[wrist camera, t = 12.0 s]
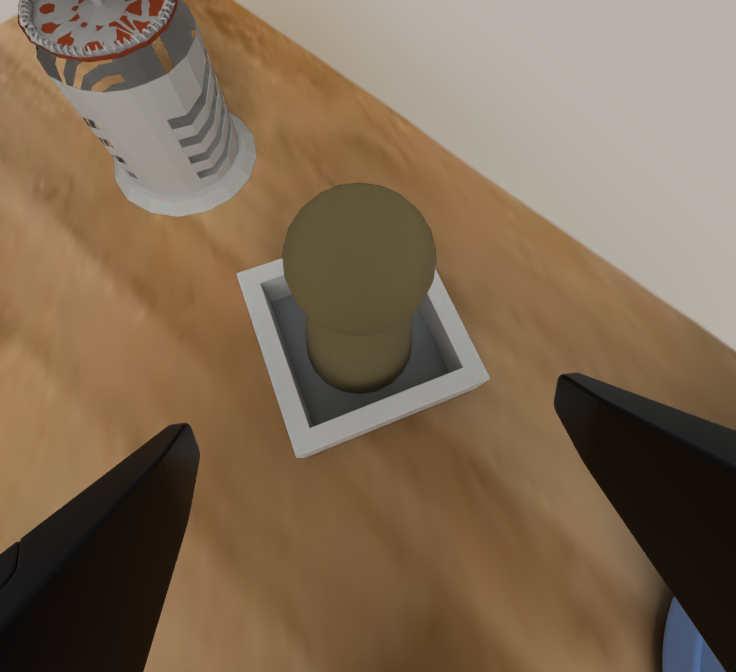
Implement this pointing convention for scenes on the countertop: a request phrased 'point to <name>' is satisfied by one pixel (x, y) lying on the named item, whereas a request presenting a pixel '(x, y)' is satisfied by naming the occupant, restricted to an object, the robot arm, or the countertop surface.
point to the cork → (359, 282)
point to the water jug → (685, 645)
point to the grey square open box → (343, 409)
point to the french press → (147, 99)
